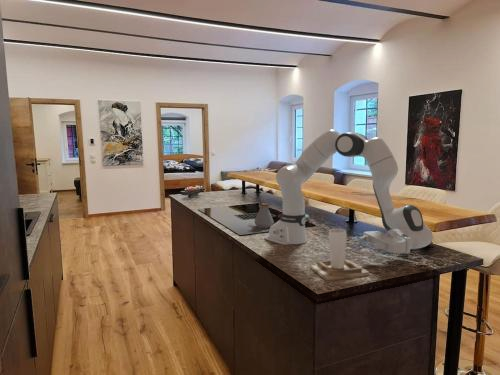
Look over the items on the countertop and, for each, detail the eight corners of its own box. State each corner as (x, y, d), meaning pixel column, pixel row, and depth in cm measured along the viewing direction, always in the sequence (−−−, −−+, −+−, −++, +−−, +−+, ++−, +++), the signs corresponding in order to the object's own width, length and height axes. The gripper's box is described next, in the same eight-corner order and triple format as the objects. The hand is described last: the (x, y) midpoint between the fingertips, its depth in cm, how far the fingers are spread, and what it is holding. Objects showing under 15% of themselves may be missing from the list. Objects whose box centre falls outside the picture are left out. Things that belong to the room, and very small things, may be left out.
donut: (288, 219, 235) (288, 213, 234) (306, 218, 236) (307, 212, 235) (292, 223, 223) (292, 217, 222) (311, 222, 224) (311, 216, 223)
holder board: (310, 268, 147) (310, 261, 147) (349, 263, 152) (349, 256, 152) (327, 280, 134) (327, 273, 134) (369, 275, 139) (369, 268, 139)
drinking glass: (327, 269, 142) (327, 232, 140) (330, 263, 149) (330, 227, 147) (344, 271, 140) (345, 233, 138) (347, 265, 146) (347, 229, 144)
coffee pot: (275, 228, 211) (275, 203, 209) (256, 229, 209) (256, 203, 207) (268, 220, 232) (268, 197, 229) (250, 221, 230) (250, 197, 228)
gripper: (380, 226, 158) (352, 229, 154) (413, 238, 139) (382, 242, 135) (379, 240, 159) (351, 243, 155) (412, 254, 140) (381, 258, 136)
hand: (366, 243), depth 145 cm, fingers open, 8 cm apart
